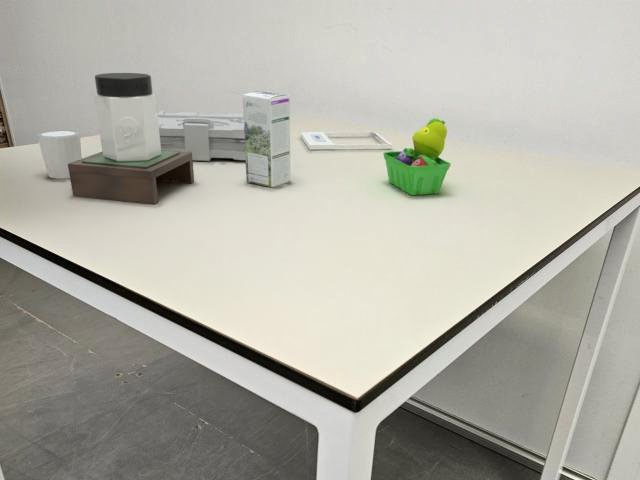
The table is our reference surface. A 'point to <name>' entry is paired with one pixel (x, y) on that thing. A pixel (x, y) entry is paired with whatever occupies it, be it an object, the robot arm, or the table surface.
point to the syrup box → (267, 138)
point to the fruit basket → (420, 161)
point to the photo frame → (323, 142)
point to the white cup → (59, 151)
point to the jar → (127, 117)
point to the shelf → (129, 176)
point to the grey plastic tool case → (203, 134)
